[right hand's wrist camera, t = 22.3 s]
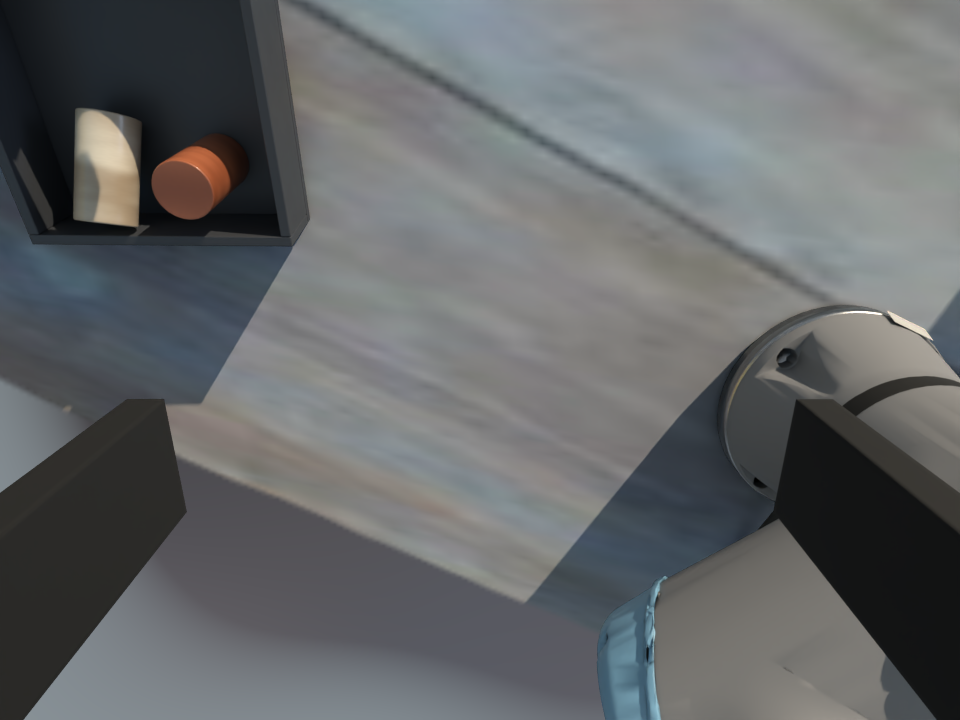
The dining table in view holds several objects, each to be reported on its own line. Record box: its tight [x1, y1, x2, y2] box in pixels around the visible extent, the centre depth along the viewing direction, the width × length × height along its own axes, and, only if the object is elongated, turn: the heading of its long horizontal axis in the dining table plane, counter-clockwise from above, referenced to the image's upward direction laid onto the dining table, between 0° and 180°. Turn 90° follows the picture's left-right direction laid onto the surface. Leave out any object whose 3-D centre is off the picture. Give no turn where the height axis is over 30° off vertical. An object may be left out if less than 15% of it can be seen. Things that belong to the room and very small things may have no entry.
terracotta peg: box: [151, 134, 249, 220], centre depth 34 cm, size 3×3×6 cm
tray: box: [0, 0, 310, 246], centre depth 30 cm, size 24×15×5 cm, turn 179°
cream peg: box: [73, 108, 142, 228], centre depth 34 cm, size 3×3×6 cm
